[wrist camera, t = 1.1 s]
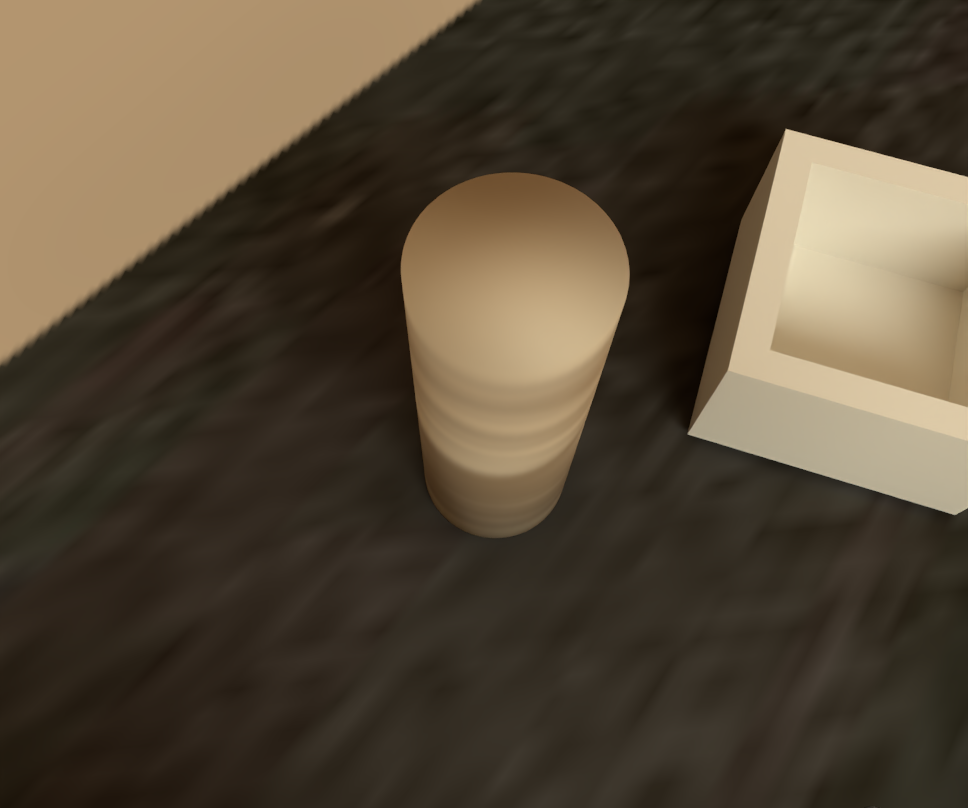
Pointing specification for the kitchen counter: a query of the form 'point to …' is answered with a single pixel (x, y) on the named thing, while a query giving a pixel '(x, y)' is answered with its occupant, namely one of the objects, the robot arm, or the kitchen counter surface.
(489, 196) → the wick dowel
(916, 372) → the cream square tray
